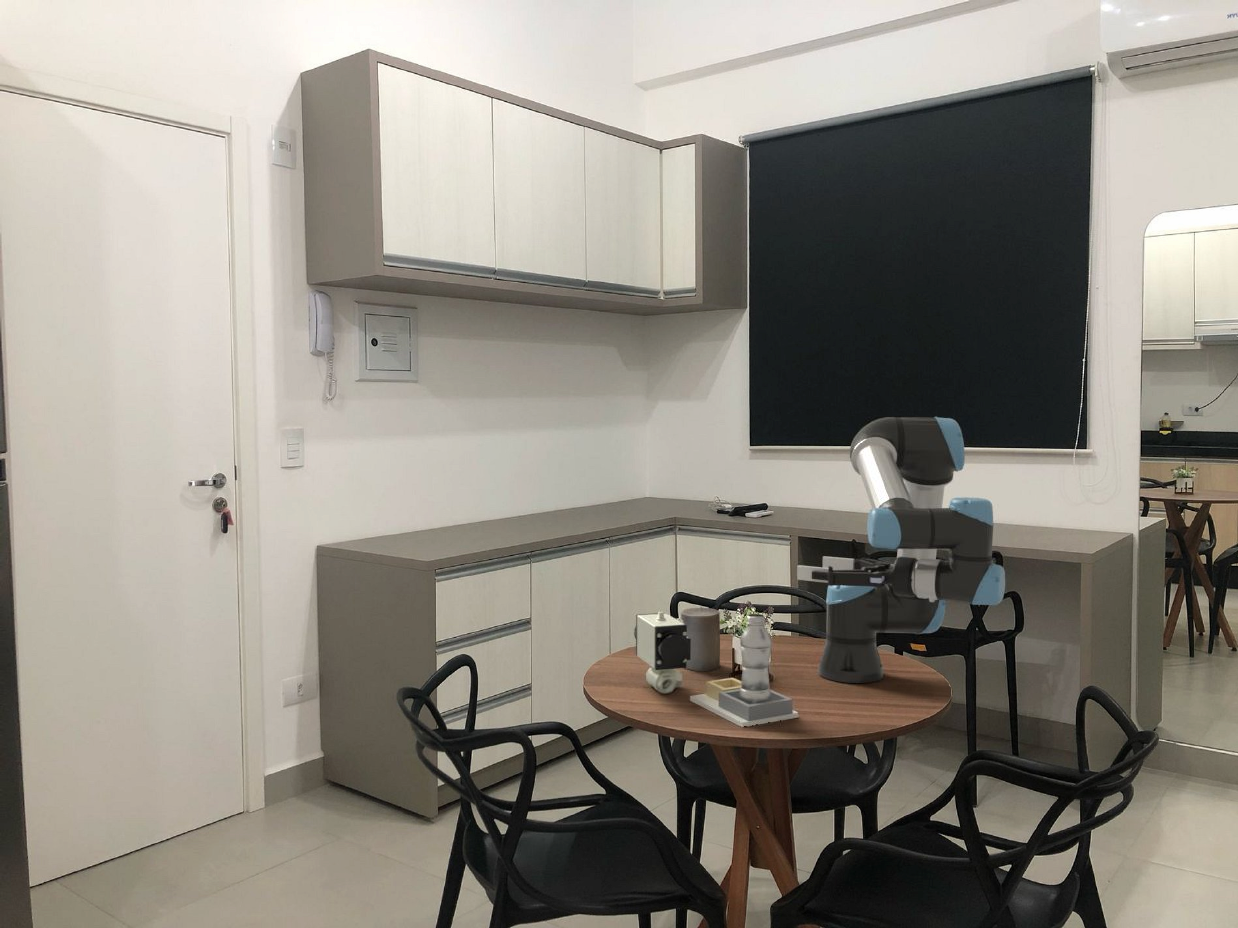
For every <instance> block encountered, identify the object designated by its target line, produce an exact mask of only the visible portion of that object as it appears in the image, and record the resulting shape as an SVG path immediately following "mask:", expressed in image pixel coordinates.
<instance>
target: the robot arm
mask: <svg viewBox="0 0 1238 928" xmlns="http://www.w3.org/2000/svg"><path fill="white" fill-rule="evenodd" d="M965 453H966V452H965V444H964V438H963V433H962V429H961V427H960V425H959V423H958V422H957V421H956V420H955V419H954V418H949V417H947V418H945V417H938V416H934V417H893V416H892V417H887V416H886V417H882V418H878V419H875V420H873V421H871V422H870V423H868V424H866V425H864V426H863V427H862V428H861V429H860V430H859V431H858V432H857V434H856V435H854V437H853V440H852V442H851V444H850V448H849V459H850V463H851V466H852V468H853V470H854V471H855V472H856V473H857V474H858V475H860V476H861V480H862V482H863V486H864V488H865V492H866V495H867V497H868V500H869V503H870V505H871V508H872V509H869V512H868V515H867V526H866V528H867V531H866V533H867V539H868V543H869V544H870V546H871V547H873V548H876V549H878V548H879V549H888V550H897V555H896V558H895V560H894V563H893V562H887V561H882V560H877V559H871V558H866V557H861V559H860V558H856V559H855V558H847V557H837V556H834V557H833V556H825V555H824V556H822V567H820V566H809V565H802V564H801V565H797V567H796V568H797V569H796V571H797V572H796V573H797V574H796V577H797V578H796V579H797V580H798V581H808V582H817V583H826V584H827V585H828V586H827V591H826V600H825V603H826V628H825V629H826V632H825V633H826V635H825V637H826V638H825V639H826V640H825V645H824V647H823V650H822V653H821V657H820V660H819V662H818V666H817V668H818V669H817V672H818V673H817V674H818V675H819V676H820V677H822V678H824V679H827V680H830V681H834V682H835V681H836V682H840V683H850V684H866V683H867V684H868V683H874V682H878V681H880V680H882V679H883V678H884V666H883V663H882V661H881V656H880V653H879V650H878V647H877V633H884V634H885V633H886V634H887V633H889V634H890V633H893V634H897V633H898V634H899V633H900V634H915V635H920V634H932V633H934V632H937V631H938V630H939V628H940V627H941V626H942V623H943V621H944V618H945V613H946V603H947V602H953V603H961V604H970V605H973V606H976V605H982V606H983V605H984V606H998V605H999V604H1000V603H1001V602H1002V601H1003V599H1004V595H1005V591H1006V572H1005V568H1004V567H1003V566H1002V565H1000V564H996V563H993V562H994V561H993V538H994V536H993V535H994V527H995V524H994V510H993V504H992V502H991V501H990V500H989V499H986V498H983V497H981V498H980V497H968V496H967V497H963V496H962V497H953V498H951V500H950V502H949V506H948V507H944V508H943V501H944V495H945V494H944V493H945V487H946V486H948V485H949V484H951V483H952V482H953V480H954V472H956V473H957V472H960V471H962V470H963V469H964V467H965V466H964V465H965V461H966V460H965V455H966V454H965ZM938 550H948V560H943V559H936V558H937V551H938Z"/></svg>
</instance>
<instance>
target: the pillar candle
mask: <svg viewBox="0 0 1238 928" xmlns="http://www.w3.org/2000/svg"><path fill="white" fill-rule="evenodd" d="M679 613H680V620H683V622H684V624H685V625H687V637H688V638H690V639H691V659H690V660H687V665H686V668H685V669H686V670H690V671H693V670H694V671H695V672H707V671H713V670H717V669H720V667H721V664H720V663H721V662H720V661H721V655H720V654H721V626H720V625H721V624H720V623H721V620H720V619H721V618H720V617H721V616H720V615H721V614H720V611H719V610H718V609H715V608H710V607H689V608H685V609H682V610H681V611H680V612H679Z"/></svg>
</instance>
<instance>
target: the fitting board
mask: <svg viewBox="0 0 1238 928" xmlns="http://www.w3.org/2000/svg"><path fill="white" fill-rule="evenodd" d="M741 681H742V680H739V679H737V678H735V677H728V678H720V679H716V680H709V681H706V682H705V693H702V694H694V695H689V701H690V702H692V703H694V704H696V705H698V706H699V707H702V708H704V709H706V710H707V711H710V712H711V713H713V714H715V715H717V716H719V717H722V718H723V719H725V720H727V721H730V722H731V723H733V724H735V725H737V726H739V727H740V726H741V727H740V728H745V727H744V726H747V727H751V726H752V725H753V726H756V724H758V725H764V724H768V722H770V723H774V722H779V721H780V720H781V721H786V720H790V719H791V720H793V719H795V718H799V712H798V711H796V710H793V709H794V705H793V703H794V702H793V699H792V698H790V697H789V696H786V695H784V694H782V693H779V692H777V691H774V690H773V689H770V693H771V701H769V702H763V703H757V704H751V705H749V704H747V703H745V702H743V701H741V700H739V692H740V687H741Z"/></svg>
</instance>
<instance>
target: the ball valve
mask: <svg viewBox="0 0 1238 928" xmlns="http://www.w3.org/2000/svg"><path fill="white" fill-rule="evenodd" d="M633 632H634V633H633V635H634V638H635V639H634V640H635V656H637V657H638V658H639V659H641V660H643V661H644V662H645V663H646V664H647V665H649V666H650V667H649V668H648V670H647V671H646V674H645V676H646V681H647V683H648V684H649V685H650V686H651V687H653V688H654V689H655V690H656V691H658V693H661V694H664V695H665V694H670V693H672V692H673V691H674V690H675V689H676V688H680V687H681V686H682V684H683V674H682V672H681V670H679V669H686V665H687V660H690V659H691V639H690V638H688V637H687V625H685V624H684V622H683V620H681V618H675V617H673V616H671V615H670V614H668V613H666V612H663V611H658V612H657V613H655V612H654V613H642V614H641V613H640V614H636V615H635V627H634V631H633Z"/></svg>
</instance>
